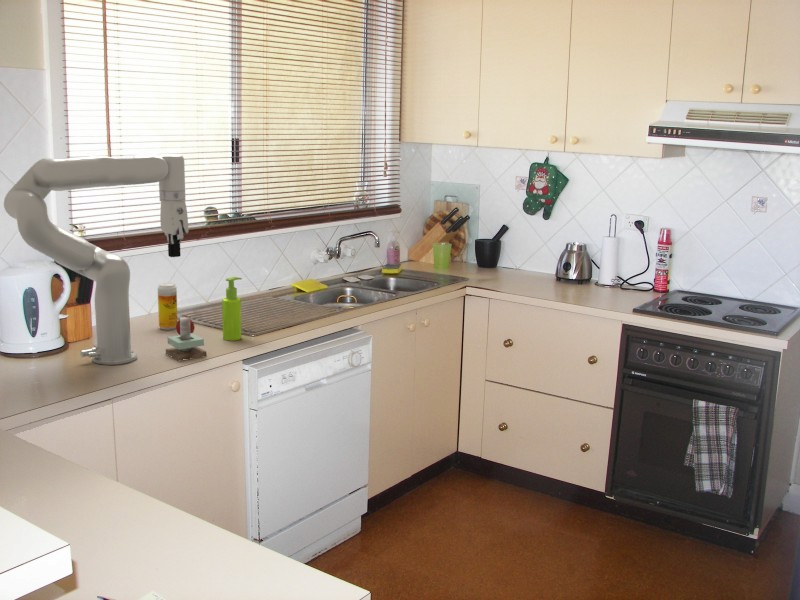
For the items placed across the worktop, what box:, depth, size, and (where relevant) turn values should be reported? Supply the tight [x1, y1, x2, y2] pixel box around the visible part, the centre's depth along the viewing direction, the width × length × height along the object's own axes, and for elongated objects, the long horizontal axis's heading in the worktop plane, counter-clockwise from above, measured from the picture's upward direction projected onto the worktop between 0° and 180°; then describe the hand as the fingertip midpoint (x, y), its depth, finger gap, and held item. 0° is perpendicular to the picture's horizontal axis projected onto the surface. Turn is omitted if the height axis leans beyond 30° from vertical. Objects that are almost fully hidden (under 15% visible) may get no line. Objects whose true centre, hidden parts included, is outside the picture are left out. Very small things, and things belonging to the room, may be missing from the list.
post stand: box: [165, 316, 208, 361], centre depth 262 cm, size 9×9×12 cm
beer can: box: [157, 282, 179, 331], centre depth 291 cm, size 6×6×15 cm
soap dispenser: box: [221, 276, 243, 341], centre depth 281 cm, size 6×7×20 cm
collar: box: [167, 333, 205, 350], centre depth 262 cm, size 8×8×2 cm
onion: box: [175, 313, 196, 335], centre depth 280 cm, size 6×6×8 cm
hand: (174, 256), depth 263 cm, fingers closed
